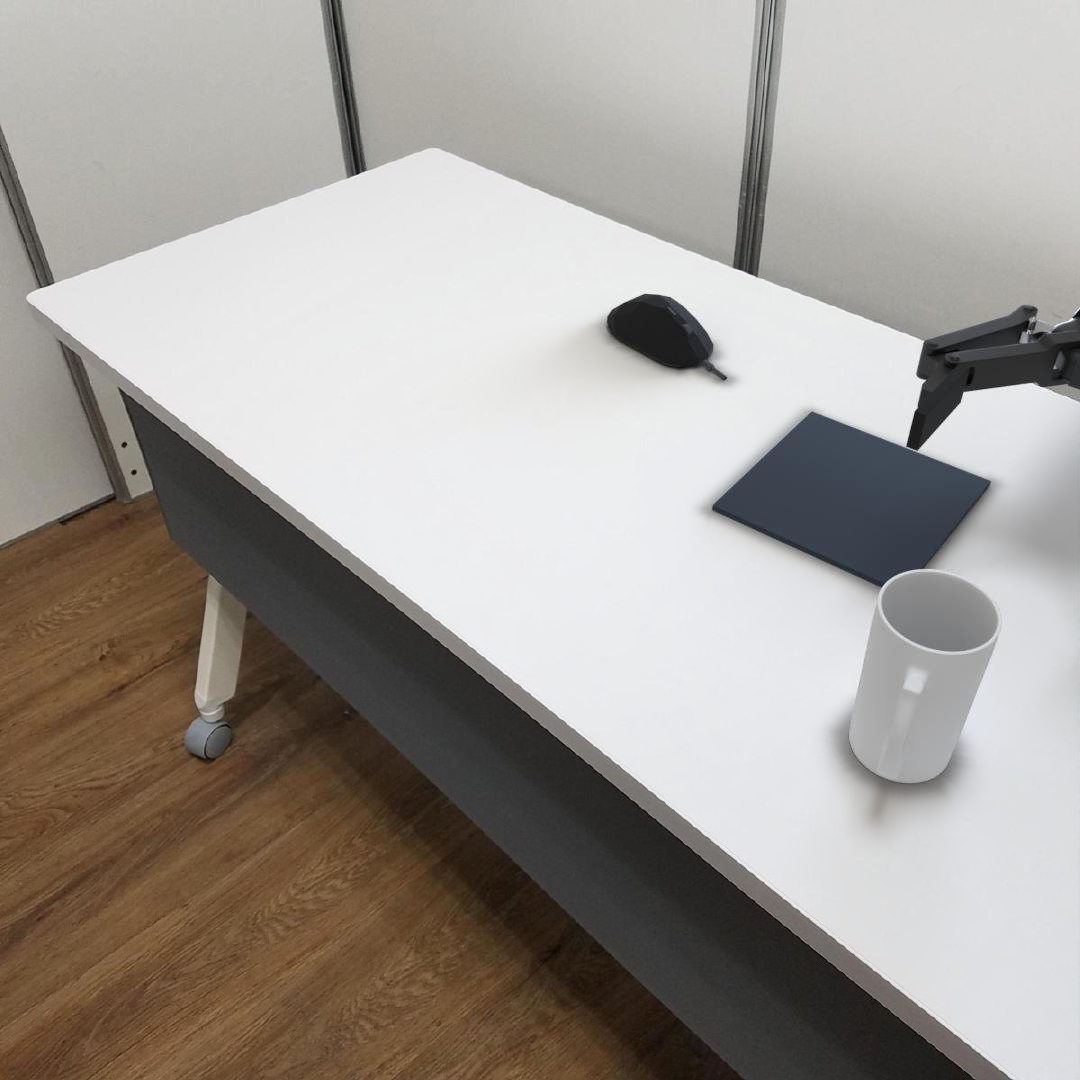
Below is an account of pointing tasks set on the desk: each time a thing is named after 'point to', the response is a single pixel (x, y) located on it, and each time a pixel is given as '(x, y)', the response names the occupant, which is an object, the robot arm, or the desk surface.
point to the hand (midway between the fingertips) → (1025, 473)
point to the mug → (921, 672)
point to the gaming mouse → (662, 331)
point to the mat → (853, 499)
